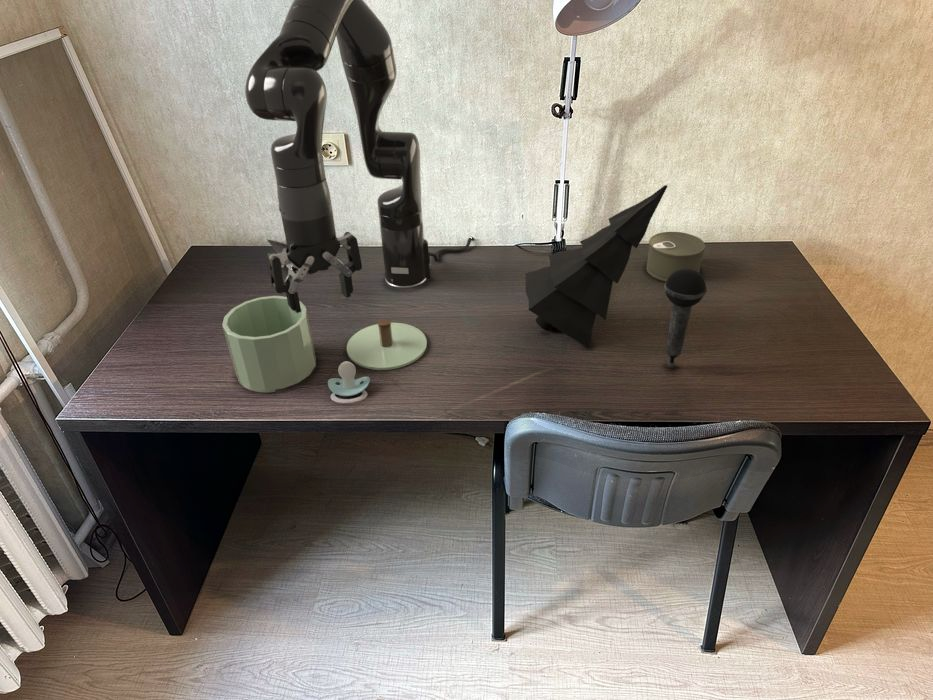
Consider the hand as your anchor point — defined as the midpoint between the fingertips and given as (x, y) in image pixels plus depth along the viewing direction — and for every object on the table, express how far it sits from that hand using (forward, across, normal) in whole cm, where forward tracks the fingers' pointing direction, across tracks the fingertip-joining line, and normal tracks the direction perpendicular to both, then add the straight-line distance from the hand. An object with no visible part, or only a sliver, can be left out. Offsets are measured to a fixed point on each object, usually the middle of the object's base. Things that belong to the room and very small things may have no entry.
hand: (322, 302), depth 109 cm
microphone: (+18, +54, -28) cm, 63 cm away
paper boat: (+18, +9, +51) cm, 55 cm away
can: (+18, +81, -2) cm, 83 cm away
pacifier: (+18, +1, -2) cm, 19 cm away
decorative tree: (+18, +50, -9) cm, 53 cm away
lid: (+18, +13, +7) cm, 23 cm away
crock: (+18, -7, +13) cm, 23 cm away
